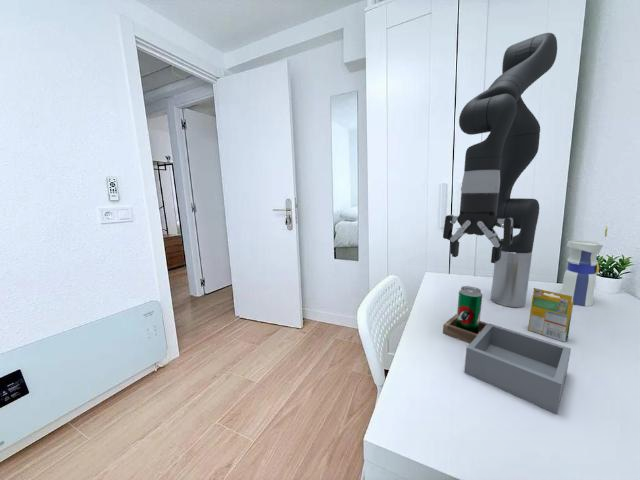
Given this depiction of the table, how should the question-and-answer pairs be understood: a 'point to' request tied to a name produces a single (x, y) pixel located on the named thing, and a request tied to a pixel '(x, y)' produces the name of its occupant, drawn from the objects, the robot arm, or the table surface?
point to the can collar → (461, 330)
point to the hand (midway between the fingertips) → (473, 259)
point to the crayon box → (550, 314)
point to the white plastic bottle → (581, 271)
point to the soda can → (469, 309)
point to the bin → (519, 365)
